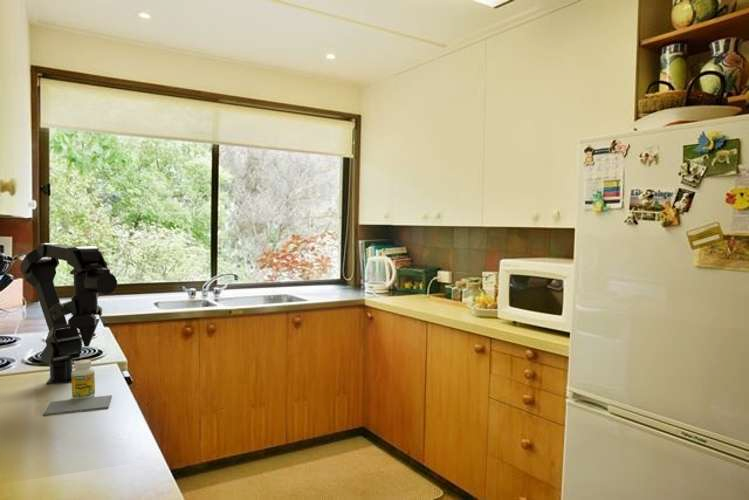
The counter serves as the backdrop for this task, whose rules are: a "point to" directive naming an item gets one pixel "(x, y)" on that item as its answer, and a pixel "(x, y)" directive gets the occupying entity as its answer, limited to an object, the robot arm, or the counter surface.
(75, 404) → the mat
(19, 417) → the counter surface
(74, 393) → the supplement bottle
